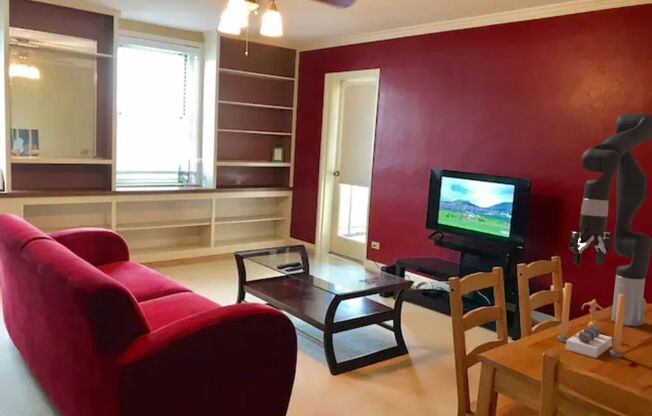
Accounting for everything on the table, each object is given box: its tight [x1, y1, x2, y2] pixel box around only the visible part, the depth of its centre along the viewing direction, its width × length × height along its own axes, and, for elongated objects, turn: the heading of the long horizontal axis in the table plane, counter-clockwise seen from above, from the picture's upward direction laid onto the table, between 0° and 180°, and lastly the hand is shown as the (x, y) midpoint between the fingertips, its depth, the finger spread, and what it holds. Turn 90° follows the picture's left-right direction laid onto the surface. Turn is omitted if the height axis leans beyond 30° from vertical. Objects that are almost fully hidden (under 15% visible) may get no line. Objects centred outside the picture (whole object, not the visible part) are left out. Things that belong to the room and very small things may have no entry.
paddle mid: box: [583, 327, 596, 340], centre depth 173 cm, size 2×3×2 cm, turn 45°
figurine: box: [581, 298, 608, 329], centre depth 187 cm, size 8×6×12 cm
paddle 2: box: [587, 325, 601, 337], centre depth 176 cm, size 2×3×2 cm, turn 45°
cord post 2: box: [608, 294, 626, 359], centre depth 167 cm, size 4×4×19 cm
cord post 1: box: [557, 282, 573, 344], centre depth 178 cm, size 4×4×19 cm
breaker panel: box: [565, 329, 613, 359], centre depth 174 cm, size 14×9×3 cm, turn 135°
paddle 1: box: [578, 330, 591, 343], centre depth 170 cm, size 2×3×2 cm, turn 45°
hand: (588, 264), depth 172 cm, fingers open, 8 cm apart
